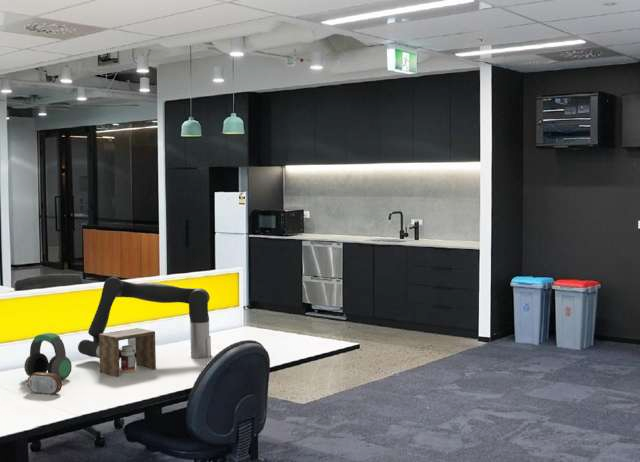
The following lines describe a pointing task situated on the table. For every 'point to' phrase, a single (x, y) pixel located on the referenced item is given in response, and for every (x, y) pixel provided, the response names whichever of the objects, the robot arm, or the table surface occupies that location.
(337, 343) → the table surface
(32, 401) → the table surface
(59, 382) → the tin
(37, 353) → the headphones
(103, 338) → the tunnel
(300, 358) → the table surface
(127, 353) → the pill bottle
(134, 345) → the ink box
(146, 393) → the table surface
